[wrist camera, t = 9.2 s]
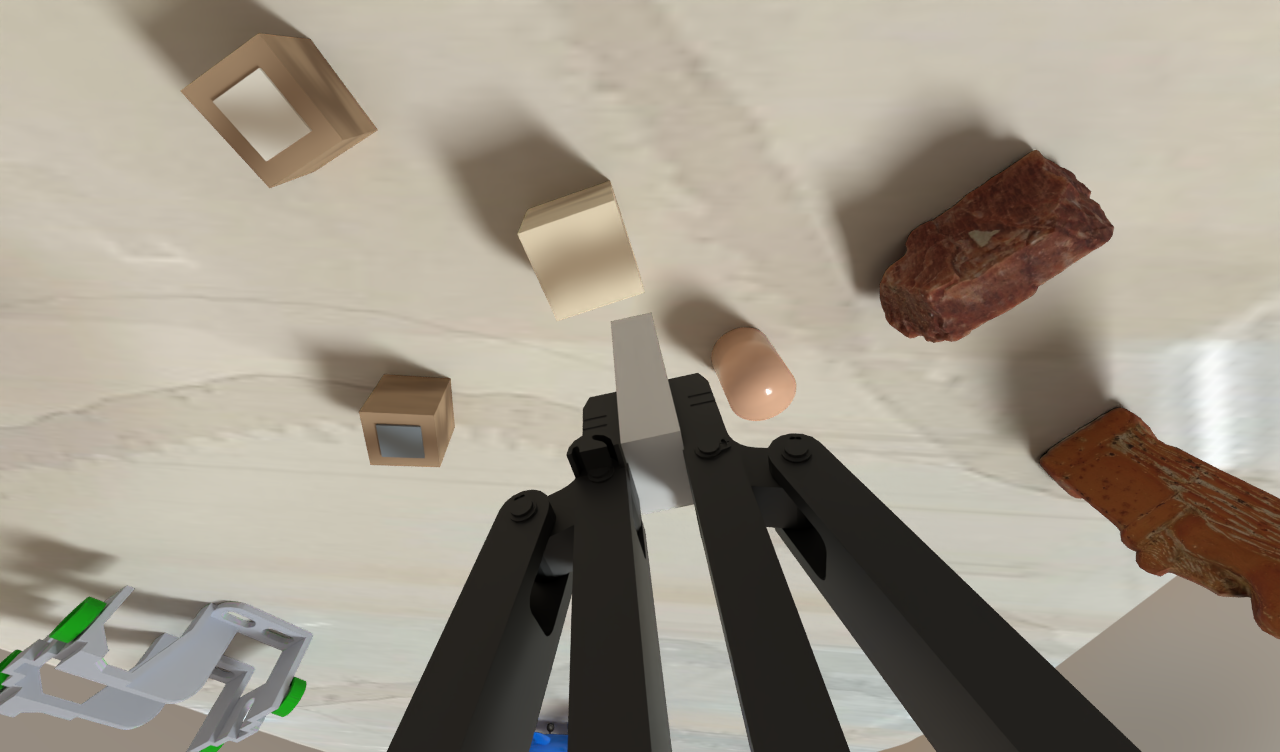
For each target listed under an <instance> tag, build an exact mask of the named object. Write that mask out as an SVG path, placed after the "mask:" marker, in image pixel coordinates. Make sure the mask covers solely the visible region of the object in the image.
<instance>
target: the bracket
mask: <svg viewBox="0 0 1280 752" xmlns="http://www.w3.org/2000/svg"><path fill="white" fill-rule="evenodd" d="M134 589H135V588H133V587H130V586H128V585H127V586H125V587H124V588H123V589H121V590H120V591H118V592H117V593H116V594H114V595H113V596H111V597H110V598H109V599H107V600H106V601H104V602H102V601H100V600H97V599H95V598H92V597H88V598H86V599H85V600H84V601H83V602H82V603H80V604H79V605H78V606H77V607H76V608H75V609H74V610H73V611H72V612H71V613H70V614H69V615H68V616H67V617H65V618H64V620H63V621H62V622H61V623H60V624H59V625H58V626H57V627H56V628H55V629H54V630H53V631H52V632H51V633H50V634H49V635H48V636H47V637H46V638H45V639H44V640H40V639H39V640H37V641H36V642H35V643H33V644H32V645H31V646H29V647H28V648H26V649H25V650H24V651H20V650H15V651H14V652H12V653H11V654H10V655H9V656H8V657H7V658H6V659H4V660H3V661H2V662H1V663H0V714H2V715H6V716H10V717H15V716H16V715H18V714H19V713H24V712H25V713H29V712H41V713H44V714H48V715H52V716H55V717H59V718H63V719H66V720H70V721H71V720H72V719H74V718H75V717H79V718H82V719H86V720H89V721H93V722H97V723H100V724H104V725H107V726H111V727H114V728H118V729H124V730H126V729H133V728H137V727H139V726H141V725H143V724H145V723H147V722H148V721H150V720H151V719H153V718H154V717H155V716H156V715H157V714H158V713H159V712H160V711H161V709H162V708H163V707H164V705H165V704H175V703H179V702H182V701H184V700H186V699H188V698H190V697H191V696H193V695H194V694H196V693H197V692H198V691H199V690H200V689H201V688H202V687H203V685H204V684H205V682H206V681H207V679H208V678H211V679H214V680H217V681H220V682H223V683H225V684H226V685H225V687H224V688H223V690H222V692H221V693H220V695H219V697H218V699H217V700H216V702H215V704H214V705H213V707H212V709H211V710H210V712H209V714H208V716H207V717H206V719H205V721H204V722H203V725H202V726H201V727H200V729H199V731H198V733H197V734H196V736H195V738H194V740H193V741H192V743H191V745H190V746H189V748H188V750H187V751H186V752H217V751H218V750H219V749H220V748H221V747H222V745H223V744H224V743H225V742H227V741H229V740H230V741H234V742H239V741H241V740H243V739H245V738H247V737H249V736H251V735H253V734H254V733H256V732H258V730H259V728H260V726H261V724H262V722H263V721H264V719H265V717H266V715H268V714H269V713H272V714H275V715H278V716H281V717H284V716H286V715H288V714H289V713H290V712H291V711H292V710H293V709H294V708H295V706H296V705H297V704H298V702H299V701H300V699H301V697H302V696H303V694H304V691H305V689H306V681H304V680H301V679H299V678H296V677H294V675H295V673H296V671H297V669H298V667H299V665H300V662H301V660H302V658H303V656H304V654H305V652H306V650H307V648H308V646H309V644H310V642H311V640H312V637H313V635H312V633H311V632H308V631H306V630H304V629H302V628H300V627H297V626H295V625H293V624H291V623H288V622H286V621H284V620H282V619H280V618H277V617H275V616H273V615H271V614H268V613H266V612H264V611H262V610H260V609H257V608H255V607H253V606H251V605H248V604H246V603H242V602H233V601H230V602H224V603H221V604H219V605H215V604H213V603H210V604H208V605H207V606H205V607H204V608H202V609H201V610H200V611H199V613H198V614H197V616H196V617H195V618H194V620H193V621H192V623H191V624H190V625H189V627H188V628H187V630H186V631H185V632H184V634H183V635H182V636H181V637H180V638H178V637H175V636H173V635H170V634H167V633H164V634H162V635H161V636H159V637H158V638H156V639H155V640H154V642H153V643H152V644H151V646H150V647H149V648H148V650H147V651H146V652H145V654H144V655H143V656H142V658H141V659H140V660H139V662H138V663H137V664H136V665H135V667H133V668H132V669H130V670H129V671H126V670H123V669H120V668H117V667H114V666H111V665H108V664H107V663H106V662H105V660H104V659H103V657H104V656H105V655H106V654H107V652H108V651H109V650H108V646H107V641H106V635H105V630H104V623H105V622H106V621H107V620H108V619H109V618H110V616H111V615H112V614H113V613H114V612H115V611H116V610H117V608H118V607H119V606H120V605H121V604H122V603H123V602H124V600H125V599H126V598H127V597H128V596H129V595H130V594H131V592H132V591H133V590H134ZM227 612H235V613H238V614H240V615H242V616H244V617H247V618H249V619H251V620H253V621H255V622H248V621H245V620H243V619H240V618H238V617H236V616H233V615H231V614H229V613H227ZM267 629H274V630H277V631H279V632H281V633H283V634H286V635H288V636H290V637H292V638H285V637H282V636H280V635H278V634H275V633H273V632H271V631H268V630H267ZM236 632H238V633H241V634H243V635H245V636H248V637H250V638H253V639H255V640H258V641H260V642H262V643H265V644H267V645H270V646H272V647H274V648H277V649H279V650H282V653H281V655H280V657H279V659H278V661H277V663H276V665H275V667H274V669H273V671H272V672H271V674H270V676H269V678H268V680H267V682H266V683H265V684H263V685H262V686H260V687H258V688H256V689H255V690H253V691H251V692H249V693H247V694H246V695H244V696H242V697H240V696H241V694H242V692H243V691H244V689H245V687H246V685H247V683H248V682H249V680H250V678H251V676H252V674H253V672H254V667H253V666H251V665H248V664H245V663H243V662H240V661H238V660H235V659H232V658H230V657H227V656H225V655H223V653H224V652H225V650H226V649H227V647H228V645H229V644H230V642H231V640H232V639H233V637H234V636H235V634H236ZM51 658H55V659H58V660H61V662H60V663H59V664H58V665H57V666H56V667H55V669H57V670H60V671H63V672H66V673H69V674H73V675H76V676H79V677H82V678H85V679H88V680H92V681H95V682H98V683H101V684H104V685H107V686H106V687H105V688H104V689H102V690H101V691H100V692H98V693H97V694H95V695H94V696H92V697H91V698H89V699H88V700H87V701H85V702H84V703H82V704H78V703H75V702H71V701H68V700H65V699H61V698H57V697H54V696H50V695H47V694H44V693H43V691H42V684H41V678H40V671H39V669H40V668H41V667H42V666H43V665H44V663H46V662H47V661H48V660H50V659H51ZM215 666H217V667H220V668H223V669H225V670H228V671H231V672H225V671H223V670H220V669H217V668H215ZM251 706H252V707H251ZM250 707H251V708H250ZM249 708H250V710H249ZM248 710H249V712H248V714H247V716H246V718H245V720H244V722H242V721H243V719H244V717H245V715H246V713H247V711H248Z"/></svg>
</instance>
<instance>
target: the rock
mask: <svg viewBox="0 0 1280 752" xmlns="http://www.w3.org/2000/svg"><path fill="white" fill-rule="evenodd" d="M1090 194H1091V191H1090V190H1089V189H1088V188H1087V187H1086V186H1085V185H1084V184H1083V183H1081V182H1079V181H1078V180H1077V179H1076V177H1075V175H1074V174H1073V173H1072V172H1070V171H1069V170H1067V169H1065V168H1062V167H1060V166H1058V165H1057V164H1055V163H1054V162H1052V161H1050V160H1047V159H1045V158H1044V157H1043V156H1042V154H1041V153H1040V152H1039V151H1038V150H1034V151H1032V152H1030V153H1029V154H1027V155H1026V156H1024V157H1023V158H1022V159H1020V160H1019V161H1017V162H1016V163H1014V164H1013V165H1011V166H1010V167H1009V168H1007V169H1006V170H1004V171H1003V172H1001V173H999V174H997V175H996V176H994V177H993V178H991V179H990V180H988V181H987V182H986V183H985V184H983V185H982V186H980V187H978V188H977V189H975V190H974V191H972V192H970V193H969V194H967V195H966V196H965V197H964V198H963V199H961V200H960V201H959V202H958V203H957V204H956V205H955V206H953V207H952V208H950V209H949V210H947V211H945V212H944V213H943V214H942V215H941V216H938V217H937V218H936V219H934V220H933V221H928V222H926V223H924V224H922V225H920V226H919V227H917V228H916V229H915V230H913V231H912V232H911V234H910V235H909V237H908V239H907V242H906V244H905V245H906V247H907V252H906V253H905V255H904V256H903V257H902V258H901V259H899V260H898V261H896V262H895V263H894V264H892V265H891V266H890V267H889V268H888V269H887V270H886V271H885V273H884V275H883V278H882V280H881V282H880V284H879V285H880V301H881V305H882V308H883V310H884V312H885V318H886V320H887V321H888V323H889V324H890V325H891V326H892V327H894V328H895V329H897V330H898V331H899V332H901V333H902V334H903V335H905V336H906V337H908V338H915V337H917V336H923V337H925V340H926V341H932V342H933V343H935V342H941V341H944V340H946V341H951V342H953V341H957V340H959V339H961V338H963V337H965V336H967V335H968V334H970V332H971V330H973V329H975V328H977V327H979V326H980V325H982V324H984V323H985V322H987V321H989V320H991V319H993V318H995V317H997V316H999V315H1001V314H1003V313H1005V312H1007V311H1009V310H1010V309H1012V308H1013V307H1015V306H1016V305H1018V304H1019V303H1021V302H1023V301H1024V300H1026V299H1028V298H1029V297H1031V296H1033V295H1034V294H1035V293H1036V291H1037V289H1038V286H1040V285H1042V284H1044V283H1045V282H1046V281H1047V280H1049V279H1051V278H1053V277H1054V276H1056V275H1057V274H1059V273H1061V272H1062V271H1064V270H1065V269H1066V268H1067V267H1069V266H1070V265H1072V264H1073V263H1075V262H1076V261H1078V260H1079V259H1081V258H1082V257H1084V256H1086V255H1087V254H1089V253H1090V252H1092V251H1093V250H1095V249H1097V248H1099V247H1101V246H1102V245H1103V244H1105V243H1106V242H1108V241H1109V240H1110V238H1111V237H1112V235H1113V230H1114V226H1113V225H1112V224H1111V223H1110V221H1109V220H1108V219H1107V218H1106V216H1105V213H1104V211H1103V210H1102V209H1101V207H1100V205H1099V204H1098V203H1096V202H1095V201H1094V200H1092V199H1090Z"/></svg>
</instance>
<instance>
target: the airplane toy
mask: <svg viewBox="0 0 1280 752" xmlns="http://www.w3.org/2000/svg"><path fill="white" fill-rule="evenodd" d="M547 730H548V731H549V734H542V733H539V732H534V735H533V739H532V743H531V747H530V750H529V752H567V750H568V735H566V734H551V732H552V731H553V730H554V725H553V724H552V723H549V724H548V725H547Z"/></svg>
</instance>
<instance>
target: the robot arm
mask: <svg viewBox="0 0 1280 752" xmlns="http://www.w3.org/2000/svg"><path fill="white" fill-rule="evenodd" d="M611 330H612V342H613V355H614V367H615V379H616V392H613V393H608V394H604V395H599V396H595V397H590V398H589V399H588V401H587V403H586V405H585V406H584V408H583V436H581V437H580V438H578V439H577V440H575V441H574V442H573V443H572V445H571V446H570V447H569V449H568V452H567V458H568V460H569V463H570V465H571V468H572V470H573V473H574V475H575V480H574V481H573V482H572V483H570V484H569V485H568V486H566V487H565V488H563V489H561V490H559V491H557V492H555V493H553V494H551V495H549V496H547V495H546V494H544V493H543V492H541V491H538V490H527V491H522V492H520V493H518V494H516V495H514V496H512V497H511V498H510V499H509V500H507V501H506V502H505V503H504V505H503V506H502V508H501V509H500V510H499V513H498V515H497V517H496V519H495V521H494V523H493V525H492V527H491V530H490V532H489V534H488V536H487V538H486V540H485V542H484V545H483V547H482V549H481V551H480V553H479V555H478V557H477V560H476V562H475V564H474V566H473V568H472V570H471V572H470V575H469V577H468V579H467V581H466V583H465V585H464V587H463V590H462V592H461V594H460V596H459V598H458V600H457V602H456V605H455V607H454V609H453V611H452V613H451V615H450V617H449V620H448V622H447V624H446V626H445V628H444V630H443V632H442V634H441V637H440V639H439V641H438V643H437V645H436V647H435V649H434V652H433V654H432V656H431V658H430V660H429V662H428V664H427V667H426V669H425V671H424V673H423V675H422V677H421V679H420V682H419V684H418V686H417V688H416V690H415V692H414V694H413V697H412V699H411V701H410V703H409V705H408V707H407V709H406V712H405V714H404V716H403V718H402V720H401V722H400V724H399V727H398V729H397V731H396V733H395V735H394V737H393V739H392V741H391V744H390V746H389V748H388V750H387V752H529V750H530V747H531V743H532V739H533V735H534V732H535V728H536V724H537V721H538V717H539V713H540V710H541V706H542V702H543V699H544V695H545V691H546V687H547V684H548V680H549V676H550V673H551V669H552V665H553V662H554V658H555V654H556V651H557V647H558V643H559V640H560V636H561V632H562V628H563V625H564V621H565V617H566V614H567V610H568V606H569V603H570V599H571V595H572V615H571V649H570V683H569V716H568V750H567V752H672V748H671V739H670V731H669V723H668V715H667V706H666V698H665V690H664V682H663V673H662V665H661V657H660V649H659V641H658V632H657V624H656V616H655V608H654V599H653V591H652V583H651V575H650V566H649V558H648V550H647V542H646V534H645V529H644V526H643V522H642V519H641V512H642V515H644V514H649V513H654V512H659V511H664V510H669V509H673V508H678V507H683V506H688V505H693V504H694V506H695V510H696V515H697V520H698V525H699V530H700V535H701V538H702V542H703V546H704V550H705V555H706V559H707V563H708V568H709V572H710V576H711V581H712V585H713V589H714V594H715V598H716V602H717V607H718V611H719V615H720V620H721V624H722V628H723V633H724V637H725V641H726V646H727V650H728V654H729V659H730V663H731V667H732V672H733V676H734V680H735V685H736V689H737V693H738V698H739V702H740V706H741V711H742V715H743V719H744V724H745V728H746V732H747V737H748V741H749V745H750V750H751V752H850V750H849V747H848V745H847V742H846V739H845V737H844V734H843V731H842V729H841V726H840V723H839V721H838V718H837V715H836V713H835V710H834V707H833V705H832V702H831V699H830V697H829V694H828V691H827V689H826V686H825V683H824V681H823V678H822V675H821V673H820V670H819V667H818V664H817V662H816V659H815V656H814V654H813V651H812V648H811V646H810V643H809V640H808V638H807V635H806V632H805V630H804V627H803V624H802V622H801V619H800V616H799V614H798V611H797V608H796V606H795V603H794V600H793V598H792V595H791V592H790V590H789V587H788V584H787V582H786V579H785V576H784V574H783V571H782V568H781V566H780V563H779V560H778V558H777V555H776V552H775V550H774V547H773V544H772V541H771V539H770V536H769V533H768V531H767V528H766V527H774V528H775V530H776V532H777V533H778V535H779V536H780V537H781V539H782V540H783V541H784V543H785V544H786V546H787V547H788V548H789V550H790V551H791V552H792V554H793V555H794V557H795V558H796V559H797V561H798V562H799V563H800V565H801V566H802V568H803V569H804V570H805V572H806V573H807V574H808V576H809V577H810V579H811V580H812V581H813V583H814V584H815V585H816V587H817V588H818V590H819V591H820V592H821V594H822V595H823V596H824V598H825V599H826V601H827V602H828V603H829V605H830V606H831V607H832V609H833V610H834V612H835V613H836V614H837V616H838V617H839V618H840V620H841V621H842V623H843V624H844V625H845V627H846V628H847V629H848V631H849V632H850V633H851V635H852V636H853V638H854V639H855V640H856V642H857V643H858V644H859V646H860V647H861V649H862V650H863V651H864V653H865V654H866V655H867V657H868V658H869V660H870V661H871V662H872V664H873V665H874V666H875V668H876V669H877V671H878V672H879V673H880V675H881V676H882V677H883V679H884V680H885V682H886V683H887V684H888V686H889V687H890V688H891V690H892V691H893V693H894V694H895V695H896V697H897V698H898V699H899V701H900V702H901V704H902V705H903V706H904V708H905V709H906V710H907V712H908V713H909V715H910V716H911V717H912V719H913V720H914V721H915V723H916V724H917V725H918V727H919V728H920V730H921V731H922V732H923V734H924V735H925V736H926V738H927V739H928V741H929V742H930V743H931V745H932V746H933V747H934V749H935V750H936V752H1141V751H1140V750H1139V749H1138V748H1137V747H1136V746H1135V745H1134V744H1133V743H1132V742H1131V741H1130V740H1129V739H1128V738H1126V736H1124V734H1123V733H1121V732H1120V731H1119V730H1118V729H1117V728H1116V727H1115V726H1114V725H1113V724H1112V723H1111V722H1110V721H1109V720H1108V719H1107V718H1106V717H1105V716H1104V715H1103V714H1102V713H1101V712H1099V710H1098V709H1096V707H1095V706H1093V705H1092V704H1091V703H1090V702H1089V701H1088V700H1087V699H1086V698H1085V697H1084V696H1083V695H1082V694H1081V693H1080V692H1079V691H1078V690H1077V689H1076V688H1075V687H1074V686H1073V685H1072V684H1071V683H1069V681H1067V680H1066V679H1065V678H1064V677H1063V676H1062V675H1061V674H1060V673H1059V672H1058V671H1057V670H1056V669H1055V668H1054V667H1053V666H1052V665H1051V664H1050V663H1049V662H1048V661H1047V660H1046V659H1045V658H1044V657H1043V656H1042V655H1040V654H1039V653H1038V652H1037V651H1036V650H1035V649H1034V648H1033V647H1032V646H1031V645H1030V644H1029V643H1028V642H1027V641H1026V640H1025V639H1024V638H1023V637H1022V636H1021V635H1020V634H1019V633H1018V632H1017V631H1016V630H1015V629H1013V628H1012V627H1011V626H1010V625H1009V624H1008V623H1007V622H1006V621H1005V620H1004V619H1003V618H1002V617H1001V616H1000V615H999V614H998V613H997V612H996V611H995V610H994V609H993V608H992V607H991V606H990V605H989V604H987V603H986V602H985V601H984V600H983V599H982V598H981V597H980V596H979V595H978V594H977V593H976V592H975V591H974V590H973V589H972V588H971V587H970V586H969V585H968V584H967V583H966V582H965V581H964V580H963V579H962V578H960V577H959V576H958V575H957V574H956V573H955V572H954V571H953V570H952V569H951V568H950V567H949V566H948V565H947V564H946V563H945V562H944V561H943V560H942V559H941V558H940V557H939V556H938V555H937V554H936V553H935V552H933V551H932V550H931V549H930V548H929V547H928V546H927V545H926V544H925V543H924V542H923V541H922V540H921V539H920V538H919V537H918V536H917V535H916V534H915V533H914V532H913V531H912V530H911V529H910V528H909V527H907V526H906V525H905V524H904V523H903V522H902V521H901V520H900V519H899V518H898V517H897V516H896V515H895V514H894V513H893V512H892V511H891V510H890V509H889V508H888V507H887V506H886V505H885V504H884V503H883V502H882V501H880V500H879V499H878V498H877V497H876V496H875V495H874V494H873V493H872V492H871V491H870V490H869V489H868V488H867V487H866V486H865V485H864V484H863V483H862V482H861V481H860V480H859V479H858V478H857V477H856V476H855V475H853V474H852V473H851V472H850V471H849V470H848V469H847V468H846V467H845V466H844V465H843V464H842V463H841V462H840V461H839V460H838V459H837V458H836V457H835V456H834V455H833V454H832V453H831V452H830V451H829V450H827V449H826V448H825V447H824V446H823V445H822V444H821V443H820V442H819V441H817V440H816V439H814V438H813V437H811V436H807V435H804V434H787V435H782V436H780V437H778V438H777V439H775V440H773V441H772V443H771V444H770V446H769V447H768V448H755V447H747V446H744V445H741V444H739V443H737V442H735V441H734V440H733V439H732V438H730V436H729V435H728V433H727V431H726V428H725V425H724V423H723V420H722V417H721V415H720V412H719V409H718V407H717V404H716V402H715V398H714V396H713V393H712V390H711V388H710V385H709V382H708V380H706V379H705V378H704V377H703V376H701V375H700V374H699V373H695V374H691V375H686V376H681V377H677V378H672V379H668V378H667V374H666V370H665V366H664V362H663V358H662V354H661V350H660V345H659V341H658V337H657V333H656V329H655V325H654V321H653V317H652V313H646V314H642V315H637V316H633V317H629V318H624V319H620V320H615V321H611ZM640 509H641V510H640Z"/></svg>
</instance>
